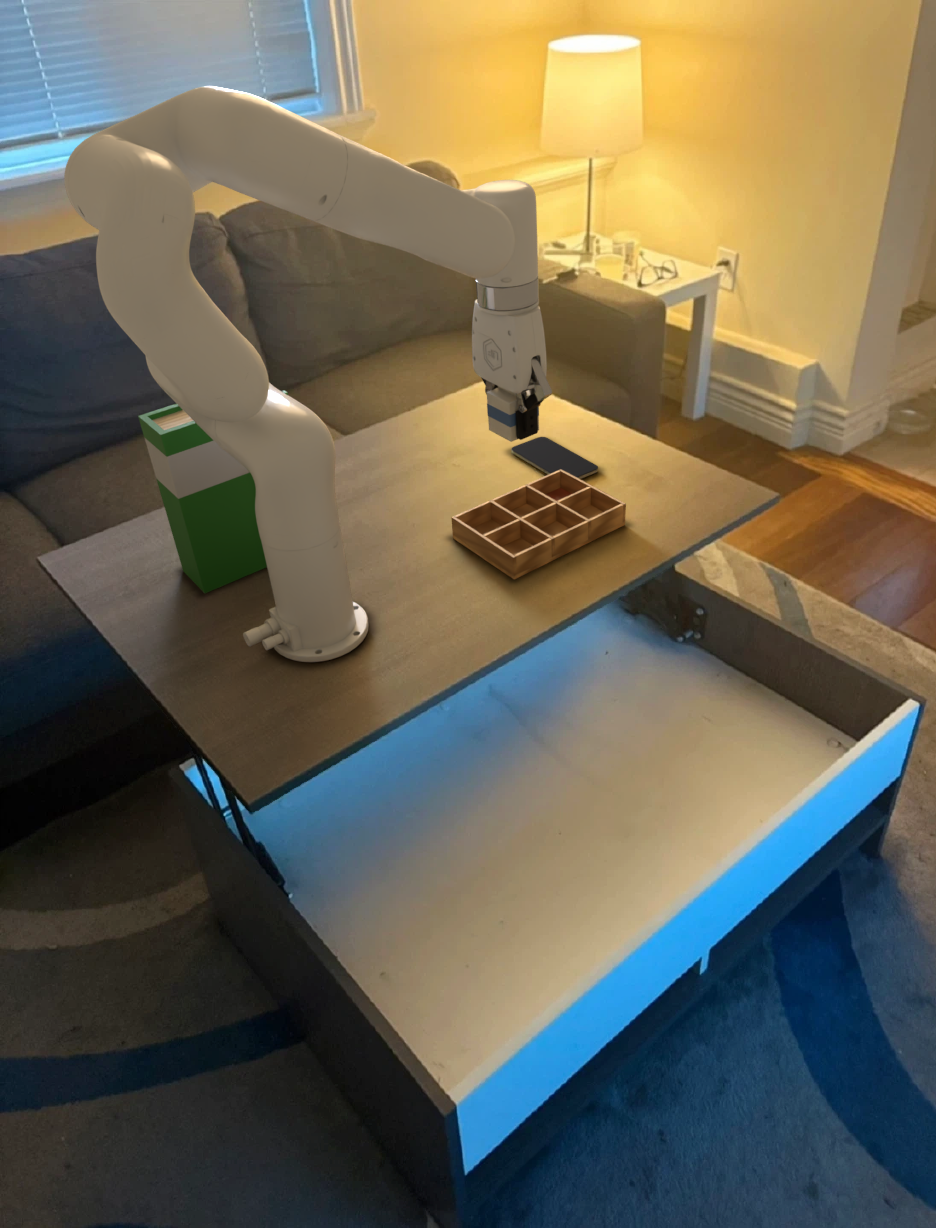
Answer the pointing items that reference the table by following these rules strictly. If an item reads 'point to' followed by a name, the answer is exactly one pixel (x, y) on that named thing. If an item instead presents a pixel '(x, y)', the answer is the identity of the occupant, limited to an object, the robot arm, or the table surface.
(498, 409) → the milk carton
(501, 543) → the compartment tray
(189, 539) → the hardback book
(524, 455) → the smartphone
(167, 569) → the table surface
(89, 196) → the robot arm
